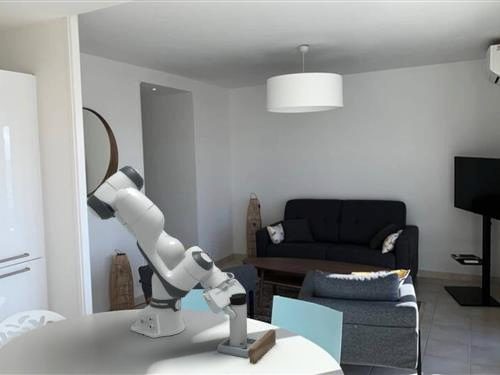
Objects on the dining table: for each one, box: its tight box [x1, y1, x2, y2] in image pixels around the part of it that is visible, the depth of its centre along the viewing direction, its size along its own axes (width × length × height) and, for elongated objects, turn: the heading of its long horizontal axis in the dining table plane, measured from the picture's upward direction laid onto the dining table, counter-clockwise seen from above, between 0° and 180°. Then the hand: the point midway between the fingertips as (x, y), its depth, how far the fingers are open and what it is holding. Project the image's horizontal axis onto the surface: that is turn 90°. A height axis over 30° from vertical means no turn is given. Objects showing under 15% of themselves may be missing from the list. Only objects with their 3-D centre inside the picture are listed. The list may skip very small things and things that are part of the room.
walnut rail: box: [249, 329, 277, 365], centre depth 158 cm, size 2×18×5 cm, turn 154°
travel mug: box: [228, 293, 248, 350], centre depth 160 cm, size 6×7×20 cm
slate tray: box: [217, 335, 260, 359], centre depth 161 cm, size 12×11×3 cm
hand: (240, 313), depth 159 cm, fingers closed on travel mug, 6 cm apart
